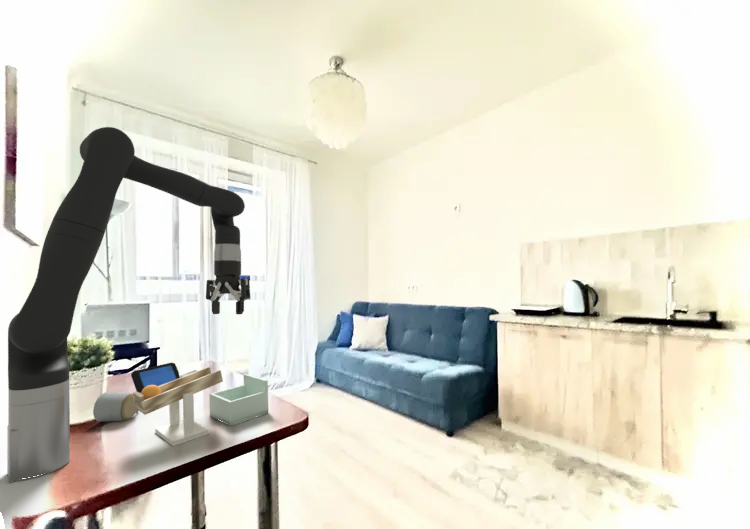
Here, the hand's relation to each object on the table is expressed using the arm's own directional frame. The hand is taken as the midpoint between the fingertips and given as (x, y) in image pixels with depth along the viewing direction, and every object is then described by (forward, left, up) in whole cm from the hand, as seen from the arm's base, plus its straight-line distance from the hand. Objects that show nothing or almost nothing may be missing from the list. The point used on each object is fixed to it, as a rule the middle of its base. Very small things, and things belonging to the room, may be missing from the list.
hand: (227, 314), depth 106 cm
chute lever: (-16, -3, -18) cm, 24 cm away
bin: (-1, -8, -28) cm, 29 cm away
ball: (-23, -8, -16) cm, 29 cm away
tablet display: (-7, +32, -28) cm, 43 cm away
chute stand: (-16, -8, -28) cm, 33 cm away
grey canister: (-23, +19, -28) cm, 41 cm away
